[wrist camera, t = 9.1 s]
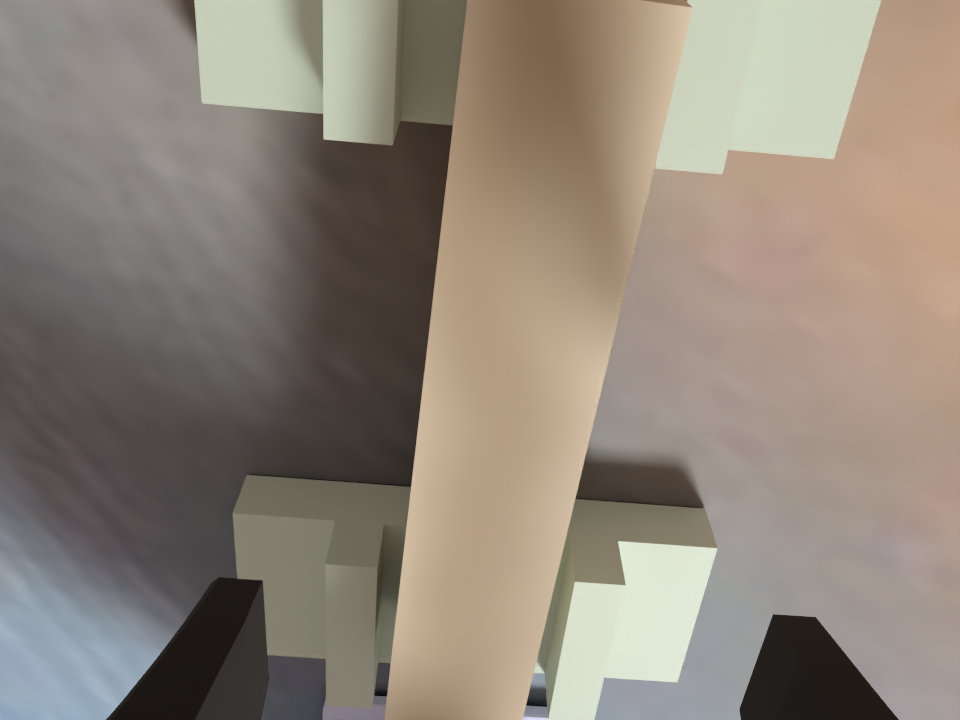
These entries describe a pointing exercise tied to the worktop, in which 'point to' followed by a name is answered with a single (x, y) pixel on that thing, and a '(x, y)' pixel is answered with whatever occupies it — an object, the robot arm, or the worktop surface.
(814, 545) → the worktop surface
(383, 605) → the stand
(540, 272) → the bar
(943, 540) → the worktop surface
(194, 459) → the worktop surface
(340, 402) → the worktop surface
